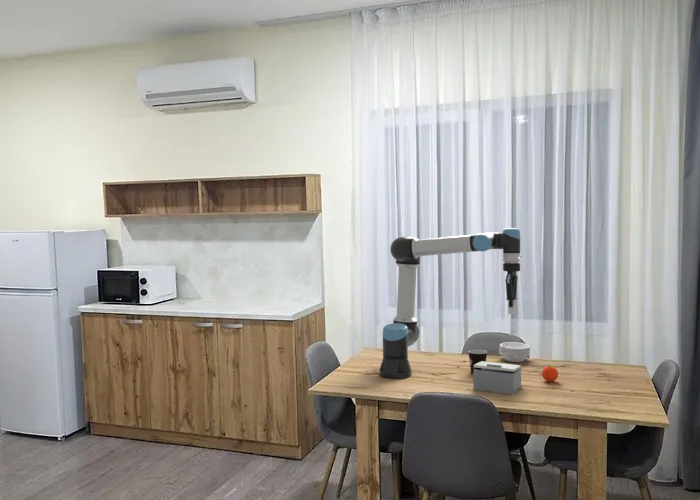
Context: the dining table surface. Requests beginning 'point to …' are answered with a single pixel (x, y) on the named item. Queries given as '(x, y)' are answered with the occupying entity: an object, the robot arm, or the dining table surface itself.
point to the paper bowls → (514, 351)
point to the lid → (497, 366)
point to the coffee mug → (476, 358)
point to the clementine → (550, 373)
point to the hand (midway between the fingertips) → (511, 314)
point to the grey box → (497, 380)
